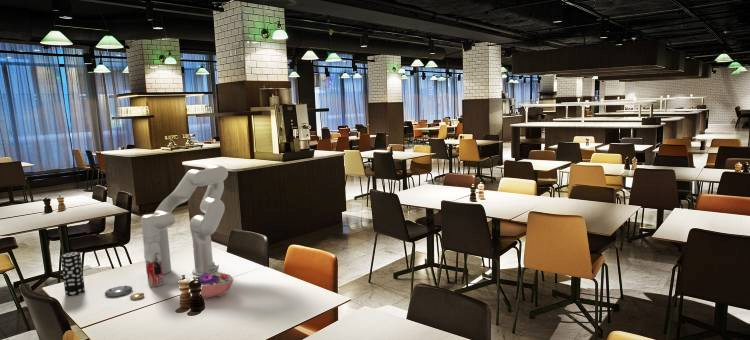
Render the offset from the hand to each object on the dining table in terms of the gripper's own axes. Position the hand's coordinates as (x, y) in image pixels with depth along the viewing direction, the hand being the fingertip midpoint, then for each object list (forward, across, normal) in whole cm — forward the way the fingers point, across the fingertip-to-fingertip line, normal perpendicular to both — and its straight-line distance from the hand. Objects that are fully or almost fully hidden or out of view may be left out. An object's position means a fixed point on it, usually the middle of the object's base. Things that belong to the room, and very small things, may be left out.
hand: (154, 272), depth 246 cm
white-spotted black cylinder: (+7, -22, -31) cm, 38 cm away
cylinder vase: (+7, -18, +9) cm, 21 cm away
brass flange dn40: (+7, +10, -13) cm, 18 cm away
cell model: (+7, +37, +12) cm, 39 cm away
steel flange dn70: (+7, -4, -16) cm, 18 cm away
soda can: (+7, 0, 0) cm, 7 cm away
